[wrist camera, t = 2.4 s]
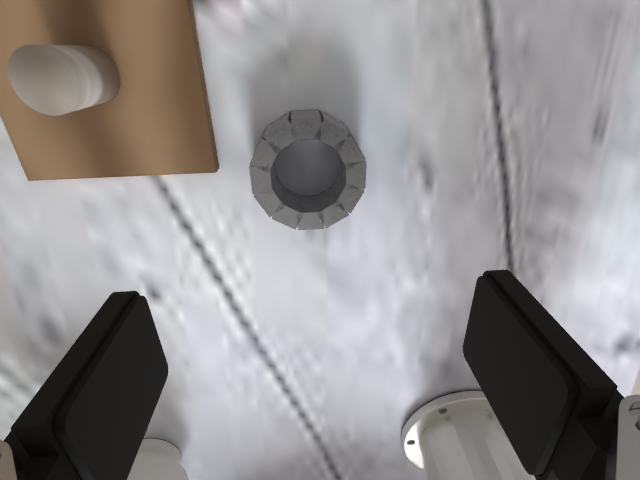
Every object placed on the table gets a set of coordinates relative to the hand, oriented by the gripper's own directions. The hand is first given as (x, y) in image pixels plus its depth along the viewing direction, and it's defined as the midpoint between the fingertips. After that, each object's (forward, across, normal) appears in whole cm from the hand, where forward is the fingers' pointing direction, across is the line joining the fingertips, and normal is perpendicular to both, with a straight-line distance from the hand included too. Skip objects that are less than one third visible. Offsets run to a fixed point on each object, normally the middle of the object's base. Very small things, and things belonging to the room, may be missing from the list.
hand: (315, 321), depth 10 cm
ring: (+16, 0, 0) cm, 16 cm away
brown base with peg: (+16, +12, -6) cm, 21 cm away
